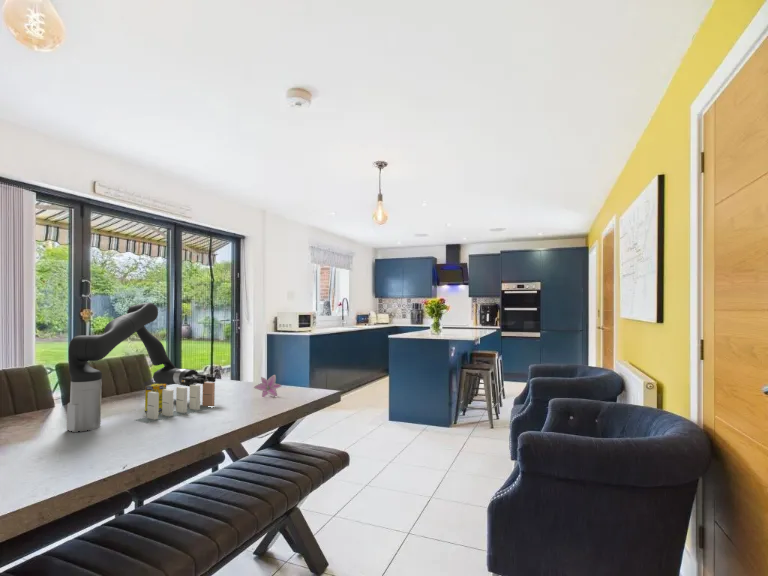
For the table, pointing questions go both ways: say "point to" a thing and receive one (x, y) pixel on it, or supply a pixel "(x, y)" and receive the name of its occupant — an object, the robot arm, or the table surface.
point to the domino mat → (161, 417)
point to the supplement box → (155, 388)
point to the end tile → (152, 405)
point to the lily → (268, 386)
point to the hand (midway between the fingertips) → (209, 380)
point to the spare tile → (208, 394)
